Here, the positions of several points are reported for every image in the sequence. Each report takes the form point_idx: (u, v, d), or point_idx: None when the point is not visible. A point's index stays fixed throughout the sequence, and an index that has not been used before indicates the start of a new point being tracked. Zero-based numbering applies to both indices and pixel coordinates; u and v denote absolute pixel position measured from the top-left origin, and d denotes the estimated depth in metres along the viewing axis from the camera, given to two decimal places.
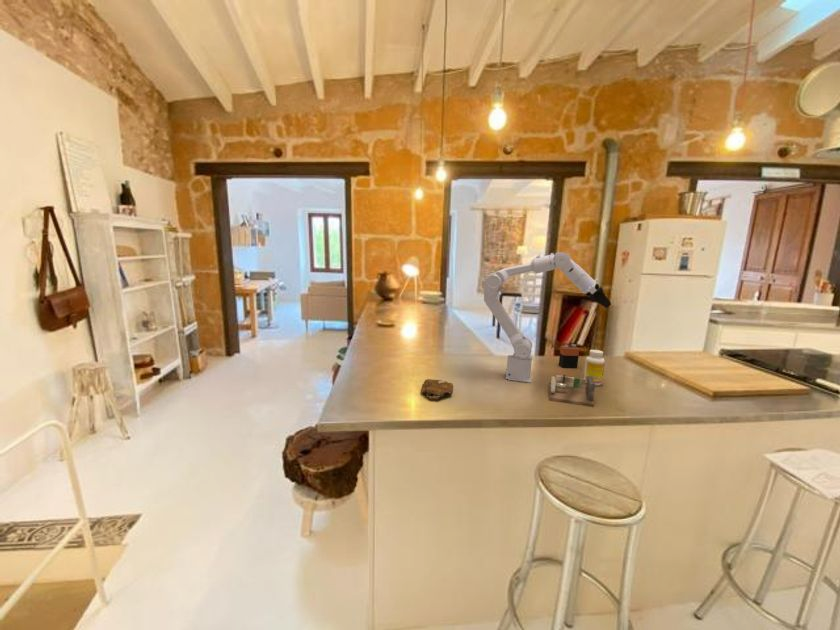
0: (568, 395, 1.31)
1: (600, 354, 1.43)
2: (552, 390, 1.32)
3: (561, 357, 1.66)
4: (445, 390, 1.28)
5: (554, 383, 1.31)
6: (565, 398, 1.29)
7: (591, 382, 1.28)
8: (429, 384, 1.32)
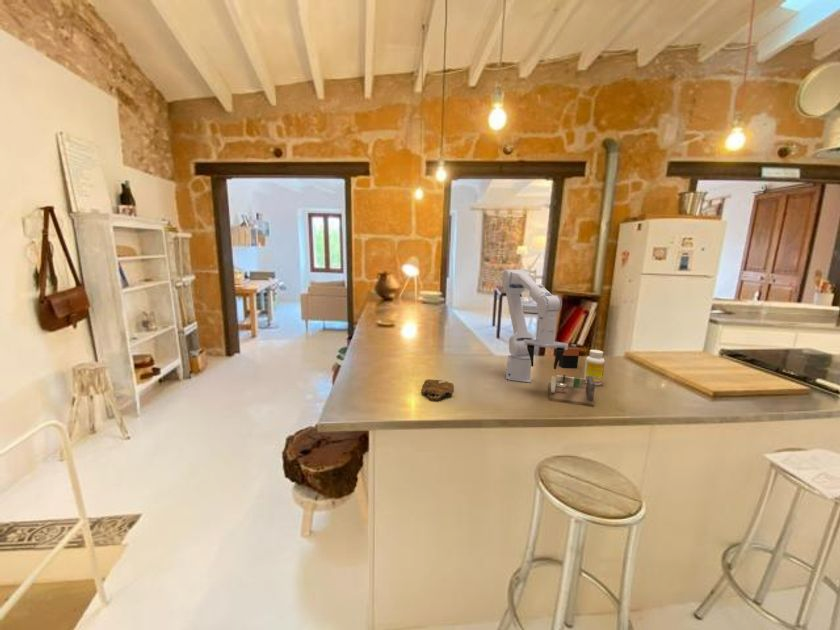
0: (568, 395, 1.31)
1: (600, 354, 1.43)
2: (552, 390, 1.32)
3: (561, 357, 1.66)
4: (446, 390, 1.28)
5: (554, 383, 1.31)
6: (565, 398, 1.29)
7: (591, 382, 1.28)
8: (430, 384, 1.32)
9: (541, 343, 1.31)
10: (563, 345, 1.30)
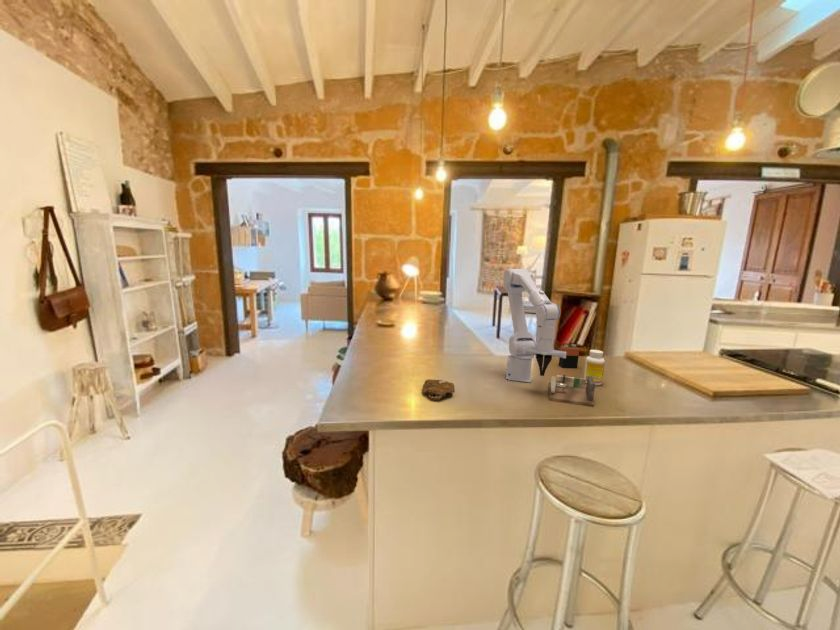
0: (568, 395, 1.31)
1: (600, 354, 1.43)
2: (552, 390, 1.32)
3: (561, 357, 1.66)
4: (447, 390, 1.28)
5: (554, 383, 1.31)
6: (565, 398, 1.29)
7: (591, 382, 1.28)
8: (430, 384, 1.32)
9: (539, 351, 1.31)
10: (561, 353, 1.31)
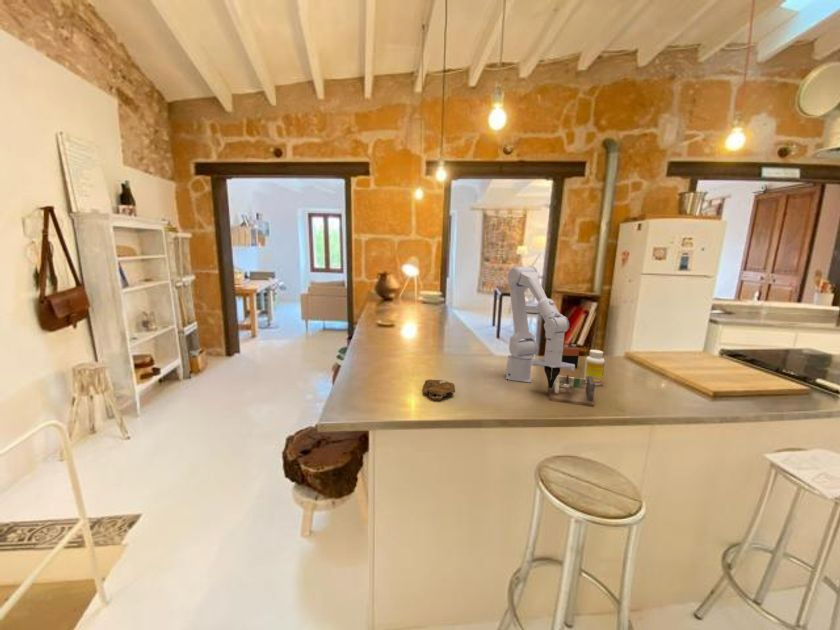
0: (568, 395, 1.31)
1: (600, 354, 1.43)
2: (556, 391, 1.32)
3: None
4: (448, 390, 1.28)
5: (558, 383, 1.31)
6: (565, 398, 1.29)
7: (591, 382, 1.28)
8: (431, 384, 1.32)
9: (548, 364, 1.31)
10: (570, 366, 1.31)
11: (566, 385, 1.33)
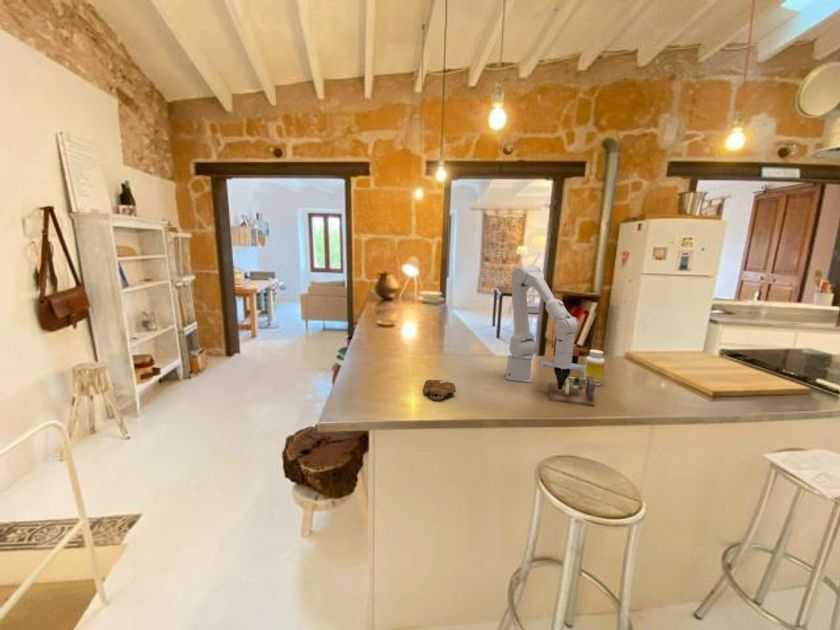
0: (568, 395, 1.31)
1: (600, 354, 1.43)
2: (566, 392, 1.31)
3: None
4: (448, 390, 1.28)
5: (568, 385, 1.30)
6: (565, 398, 1.29)
7: (591, 382, 1.28)
8: (431, 385, 1.32)
9: (558, 365, 1.30)
10: (580, 367, 1.30)
11: (576, 386, 1.32)
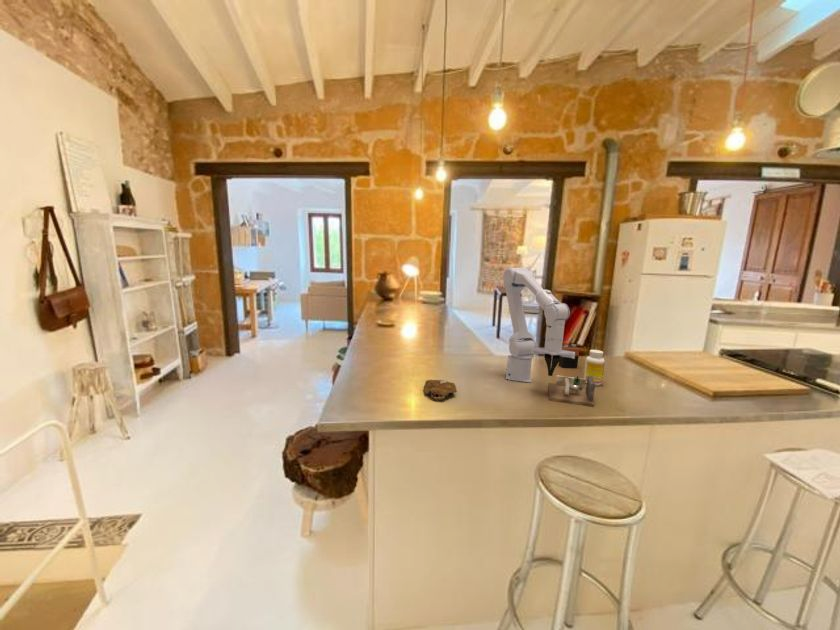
0: (568, 395, 1.31)
1: (600, 354, 1.43)
2: (566, 392, 1.31)
3: (561, 357, 1.66)
4: (449, 390, 1.28)
5: (568, 385, 1.30)
6: (565, 398, 1.29)
7: (591, 382, 1.28)
8: (432, 385, 1.32)
9: (548, 351, 1.31)
10: (570, 354, 1.30)
11: (576, 386, 1.32)
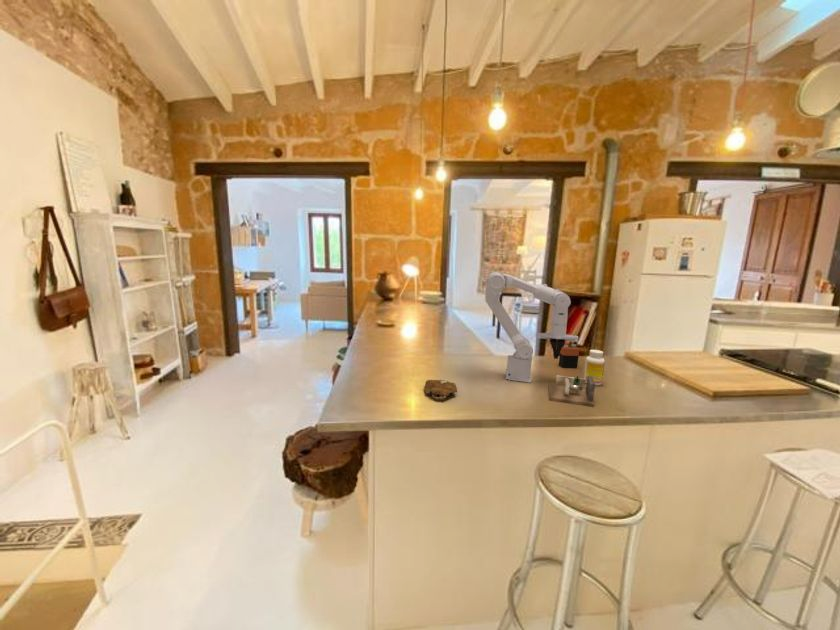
0: (568, 395, 1.31)
1: (600, 354, 1.43)
2: (566, 392, 1.31)
3: (561, 357, 1.66)
4: (450, 390, 1.28)
5: (568, 385, 1.30)
6: (565, 398, 1.29)
7: (591, 382, 1.28)
8: (433, 385, 1.32)
9: (553, 336, 1.43)
10: (574, 337, 1.42)
11: (576, 386, 1.32)
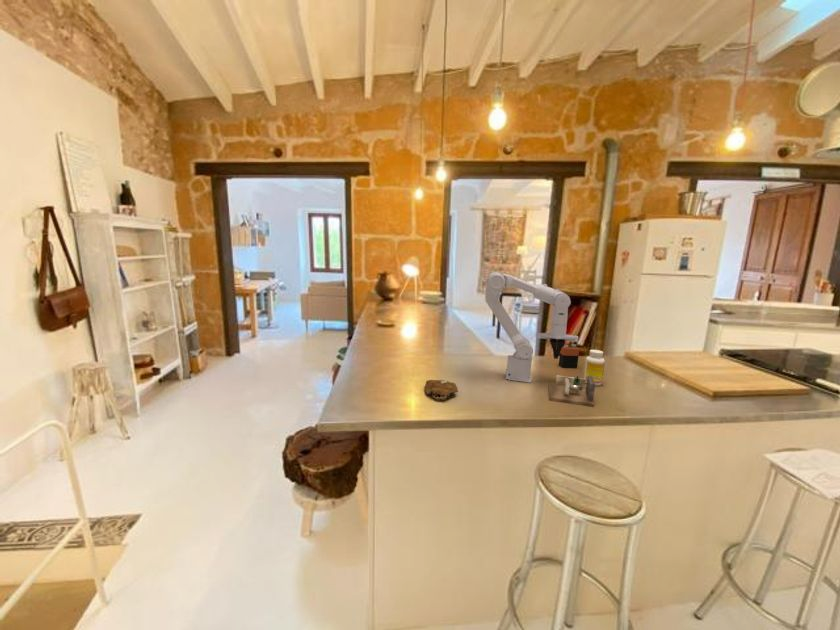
0: (568, 395, 1.31)
1: (600, 354, 1.43)
2: (566, 392, 1.31)
3: (561, 357, 1.66)
4: (451, 390, 1.28)
5: (568, 385, 1.30)
6: (565, 398, 1.29)
7: (591, 382, 1.28)
8: (433, 385, 1.32)
9: (553, 336, 1.43)
10: (574, 337, 1.42)
11: (576, 386, 1.32)
